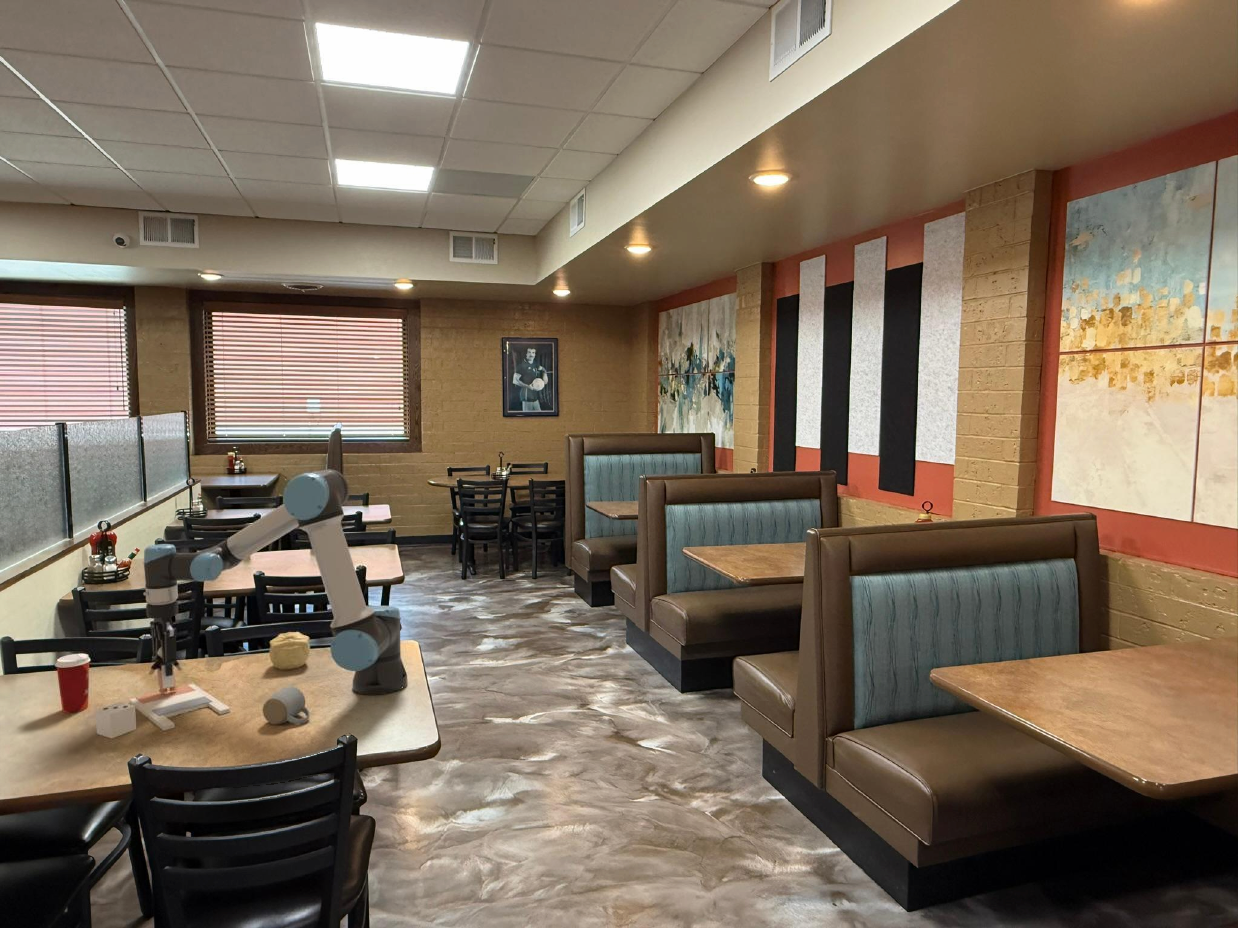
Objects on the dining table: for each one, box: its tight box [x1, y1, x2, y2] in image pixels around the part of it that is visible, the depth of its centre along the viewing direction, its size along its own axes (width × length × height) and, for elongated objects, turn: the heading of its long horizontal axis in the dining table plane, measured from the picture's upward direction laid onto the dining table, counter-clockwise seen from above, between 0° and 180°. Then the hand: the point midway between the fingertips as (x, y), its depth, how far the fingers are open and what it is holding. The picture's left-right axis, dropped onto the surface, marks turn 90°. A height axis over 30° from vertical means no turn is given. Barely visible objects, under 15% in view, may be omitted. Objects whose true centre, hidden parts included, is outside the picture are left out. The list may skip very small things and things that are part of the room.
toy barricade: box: [129, 683, 231, 731], centre depth 209 cm, size 26×16×1 cm, turn 48°
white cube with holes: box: [95, 701, 137, 739], centre depth 194 cm, size 6×6×6 cm
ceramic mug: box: [262, 685, 311, 726], centre depth 201 cm, size 11×8×8 cm
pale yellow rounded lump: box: [269, 631, 311, 670], centre depth 241 cm, size 12×12×11 cm
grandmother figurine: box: [148, 647, 183, 693], centre depth 215 cm, size 8×4×13 cm, turn 136°
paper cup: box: [54, 653, 91, 714], centre depth 207 cm, size 8×8×14 cm
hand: (165, 684), depth 215 cm, fingers closed on grandmother figurine, 3 cm apart
